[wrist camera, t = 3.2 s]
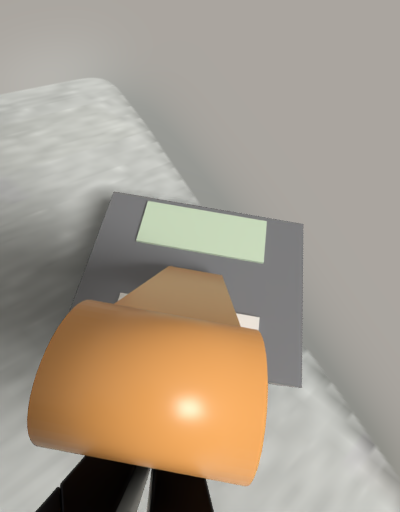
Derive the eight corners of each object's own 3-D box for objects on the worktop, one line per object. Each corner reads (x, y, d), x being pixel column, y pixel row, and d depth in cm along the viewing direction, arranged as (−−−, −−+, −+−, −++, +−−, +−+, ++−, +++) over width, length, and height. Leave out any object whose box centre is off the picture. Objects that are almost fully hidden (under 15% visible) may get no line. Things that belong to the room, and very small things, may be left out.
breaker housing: (278, 385, 17) (303, 388, 14) (82, 349, 18) (55, 342, 14) (284, 247, 21) (304, 222, 18) (124, 220, 22) (113, 189, 18)
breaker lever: (217, 307, 16) (244, 533, 4) (163, 297, 16) (17, 489, 4) (224, 267, 15) (278, 365, 3) (170, 257, 16) (39, 322, 4)
